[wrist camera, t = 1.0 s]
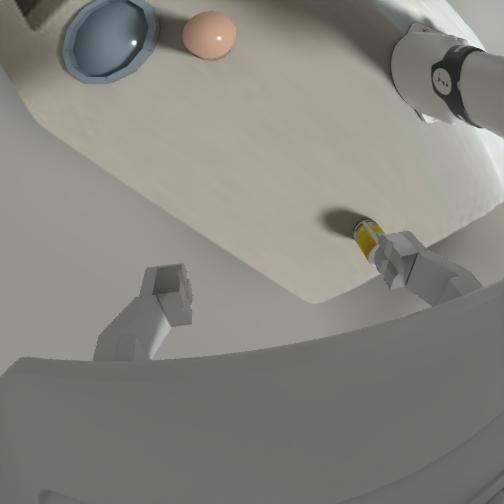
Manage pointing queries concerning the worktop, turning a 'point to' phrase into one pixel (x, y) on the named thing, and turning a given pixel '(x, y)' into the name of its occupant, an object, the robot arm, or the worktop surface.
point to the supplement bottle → (368, 238)
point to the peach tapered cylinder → (209, 35)
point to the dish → (110, 40)
